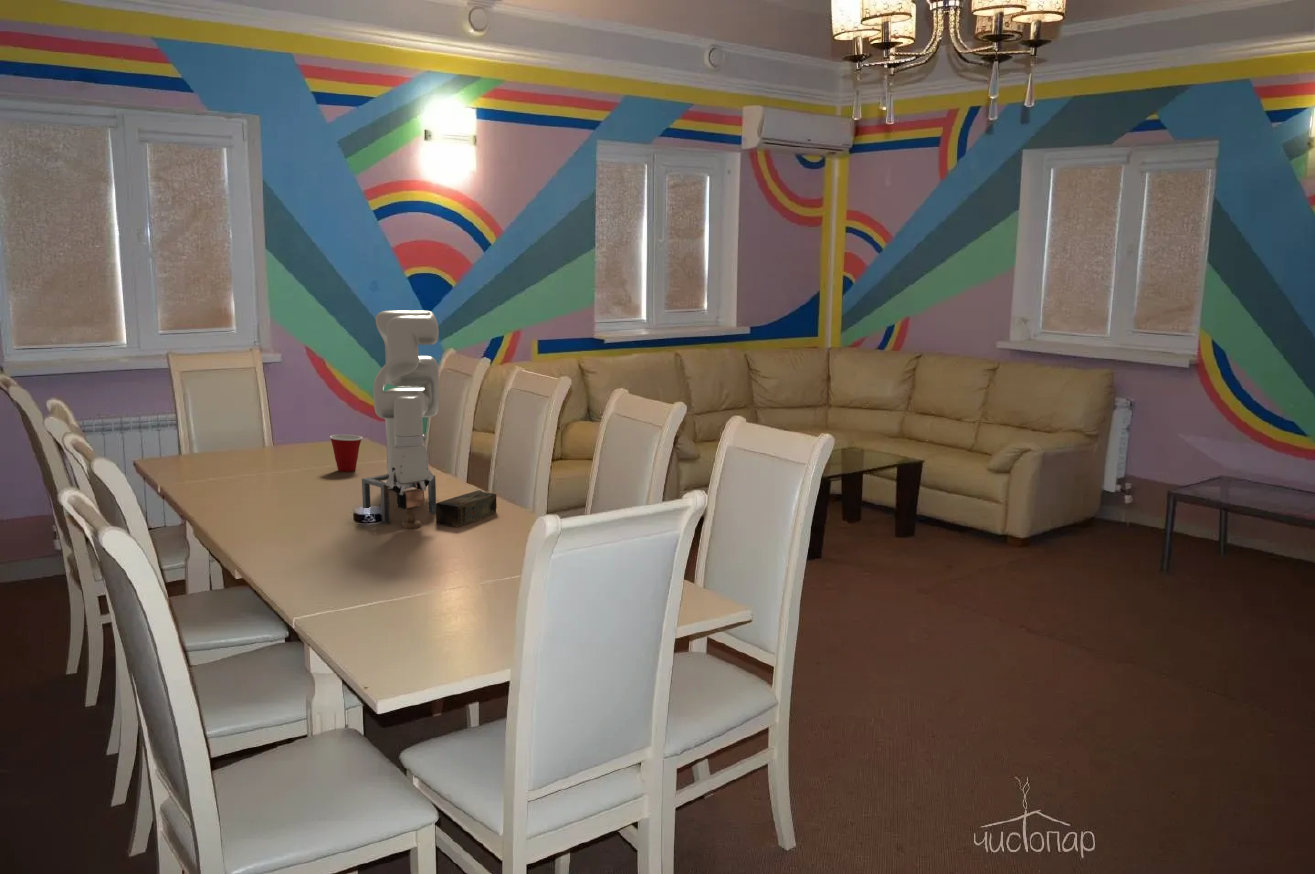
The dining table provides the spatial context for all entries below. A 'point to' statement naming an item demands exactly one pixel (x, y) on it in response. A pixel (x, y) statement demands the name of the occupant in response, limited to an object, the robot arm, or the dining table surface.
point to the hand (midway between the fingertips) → (410, 505)
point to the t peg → (412, 506)
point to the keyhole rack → (385, 494)
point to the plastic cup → (346, 451)
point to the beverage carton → (465, 508)
